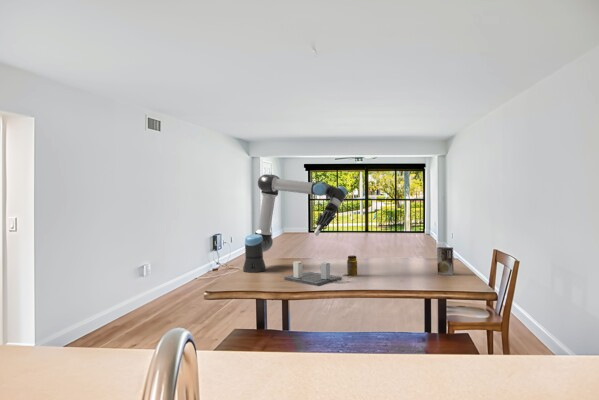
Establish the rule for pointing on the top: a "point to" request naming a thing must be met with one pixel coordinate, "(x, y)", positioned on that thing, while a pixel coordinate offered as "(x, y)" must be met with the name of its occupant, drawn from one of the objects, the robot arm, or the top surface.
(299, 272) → the block
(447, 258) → the coffee box
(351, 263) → the condiment
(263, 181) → the robot arm
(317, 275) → the dark grey flat board
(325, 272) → the block
